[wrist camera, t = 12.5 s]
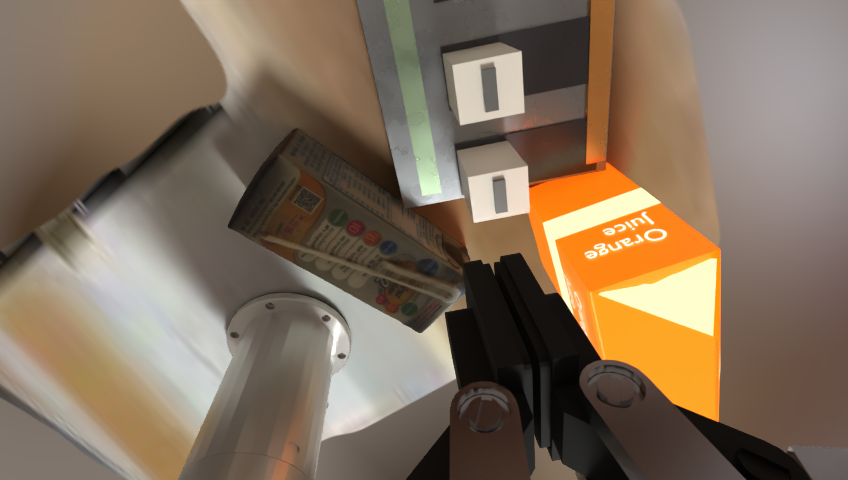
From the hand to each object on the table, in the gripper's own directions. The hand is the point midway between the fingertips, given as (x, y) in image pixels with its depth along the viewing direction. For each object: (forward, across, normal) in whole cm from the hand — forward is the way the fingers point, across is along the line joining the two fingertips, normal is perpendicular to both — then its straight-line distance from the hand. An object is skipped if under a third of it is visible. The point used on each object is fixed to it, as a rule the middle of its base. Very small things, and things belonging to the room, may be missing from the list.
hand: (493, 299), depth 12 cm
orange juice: (+24, -12, +11) cm, 29 cm away
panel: (+23, -6, -3) cm, 24 cm away
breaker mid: (+21, -4, -3) cm, 22 cm away
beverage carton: (+25, +7, +8) cm, 27 cm away
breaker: (+21, -4, +4) cm, 22 cm away
